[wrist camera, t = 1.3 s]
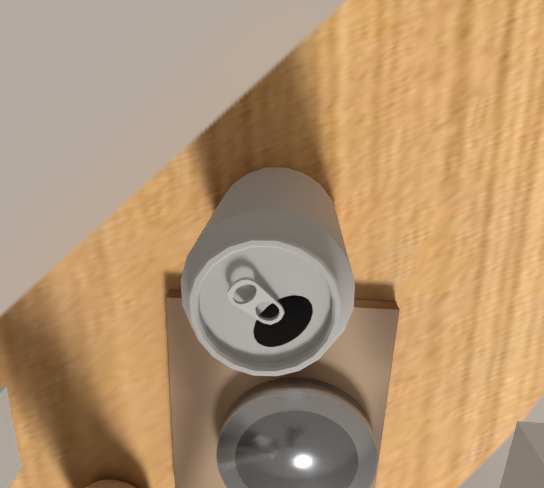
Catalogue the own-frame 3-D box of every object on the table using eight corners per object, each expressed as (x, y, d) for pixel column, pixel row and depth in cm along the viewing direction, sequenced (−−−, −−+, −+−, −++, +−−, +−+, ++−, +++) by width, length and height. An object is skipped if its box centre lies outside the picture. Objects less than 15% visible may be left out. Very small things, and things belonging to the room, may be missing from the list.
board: (179, 483, 38) (175, 496, 37) (170, 289, 32) (165, 297, 31) (369, 496, 37) (371, 510, 36) (395, 301, 31) (399, 309, 30)
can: (277, 298, 32) (265, 423, 20) (194, 221, 30) (131, 310, 19) (362, 224, 30) (400, 316, 18) (277, 137, 28) (262, 180, 17)
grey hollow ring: (220, 494, 36) (216, 516, 35) (219, 372, 33) (215, 389, 31) (365, 504, 36) (369, 526, 34) (381, 382, 32) (386, 399, 30)
